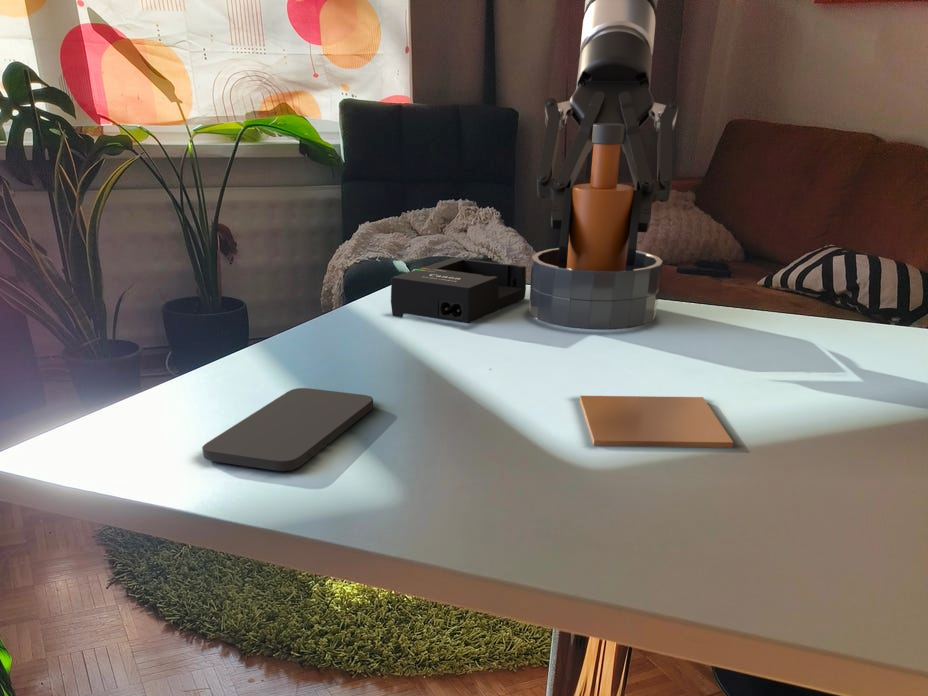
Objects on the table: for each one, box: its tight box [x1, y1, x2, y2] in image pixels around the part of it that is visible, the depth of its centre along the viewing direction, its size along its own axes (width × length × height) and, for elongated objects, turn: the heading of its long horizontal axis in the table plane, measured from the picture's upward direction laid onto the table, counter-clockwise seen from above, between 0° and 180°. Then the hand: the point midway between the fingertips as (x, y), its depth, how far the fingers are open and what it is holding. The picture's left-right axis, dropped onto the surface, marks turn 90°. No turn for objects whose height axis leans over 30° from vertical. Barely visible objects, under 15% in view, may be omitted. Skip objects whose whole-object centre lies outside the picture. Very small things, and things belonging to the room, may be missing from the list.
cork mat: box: [579, 395, 734, 449], centre depth 68 cm, size 10×10×1 cm
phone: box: [202, 387, 374, 472], centre depth 66 cm, size 7×1×15 cm
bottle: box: [567, 123, 635, 271], centre depth 90 cm, size 6×6×17 cm
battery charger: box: [390, 257, 527, 324], centre depth 97 cm, size 13×10×4 cm
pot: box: [528, 247, 664, 330], centre depth 93 cm, size 13×13×6 cm
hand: (596, 255), depth 88 cm, fingers closed on bottle, 6 cm apart
